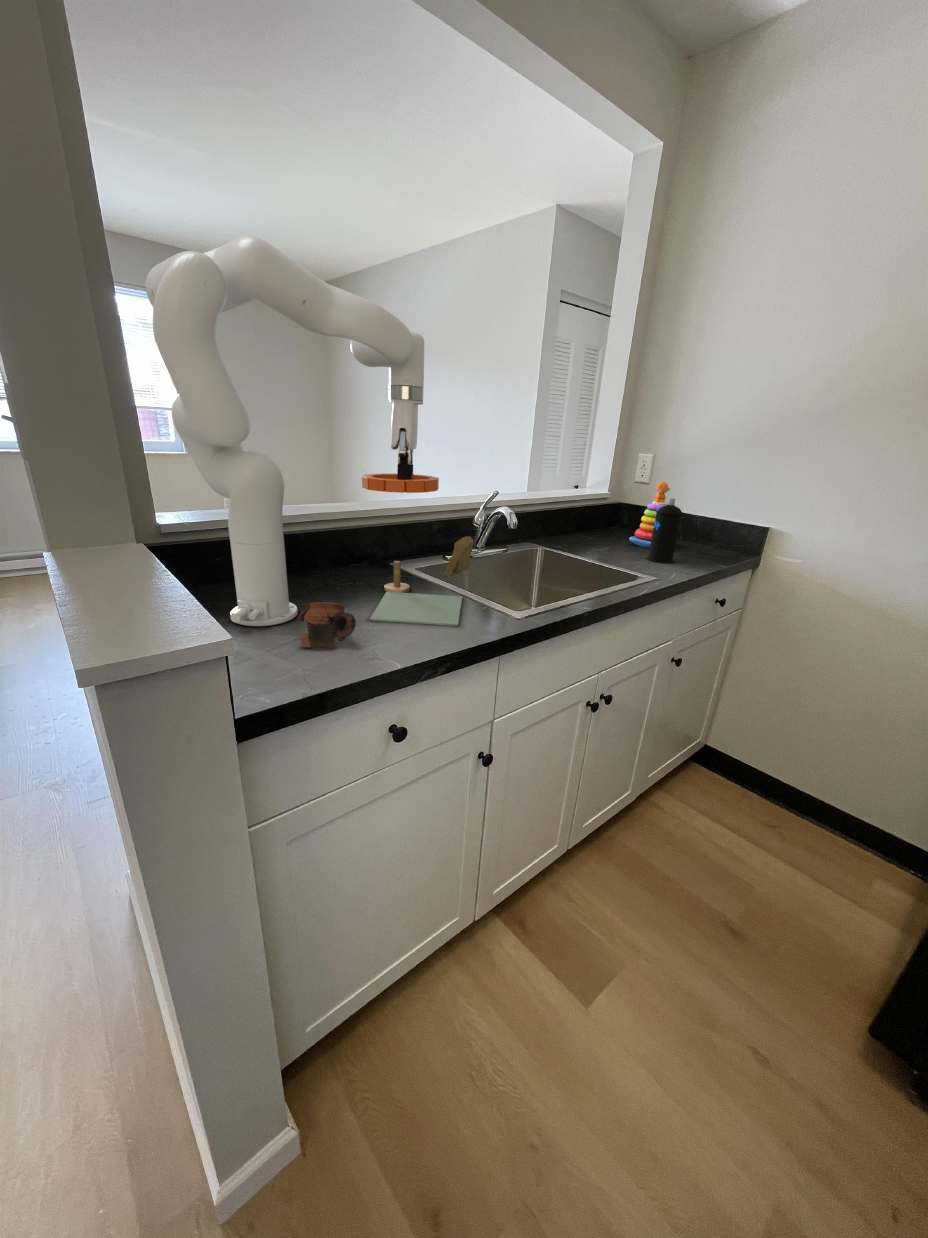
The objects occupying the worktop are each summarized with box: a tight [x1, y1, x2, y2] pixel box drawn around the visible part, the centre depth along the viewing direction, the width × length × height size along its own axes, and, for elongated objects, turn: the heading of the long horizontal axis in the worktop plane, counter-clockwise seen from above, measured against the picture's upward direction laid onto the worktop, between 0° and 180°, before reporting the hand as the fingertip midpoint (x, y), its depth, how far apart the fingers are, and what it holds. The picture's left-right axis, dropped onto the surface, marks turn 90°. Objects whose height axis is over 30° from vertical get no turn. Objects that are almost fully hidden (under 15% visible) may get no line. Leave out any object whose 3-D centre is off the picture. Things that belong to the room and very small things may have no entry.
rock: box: [444, 535, 474, 576], centre depth 137 cm, size 11×9×10 cm
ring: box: [361, 473, 440, 494], centre depth 109 cm, size 16×16×2 cm
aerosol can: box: [646, 497, 684, 564], centre depth 160 cm, size 8×8×20 cm
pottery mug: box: [297, 601, 357, 649], centre depth 89 cm, size 12×10×8 cm
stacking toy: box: [628, 480, 670, 549], centre depth 181 cm, size 14×13×23 cm
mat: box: [369, 591, 463, 627], centre depth 108 cm, size 18×18×1 cm
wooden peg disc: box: [384, 560, 410, 593], centre depth 119 cm, size 6×6×7 cm
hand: (405, 481), depth 116 cm, fingers closed on ring, 2 cm apart
